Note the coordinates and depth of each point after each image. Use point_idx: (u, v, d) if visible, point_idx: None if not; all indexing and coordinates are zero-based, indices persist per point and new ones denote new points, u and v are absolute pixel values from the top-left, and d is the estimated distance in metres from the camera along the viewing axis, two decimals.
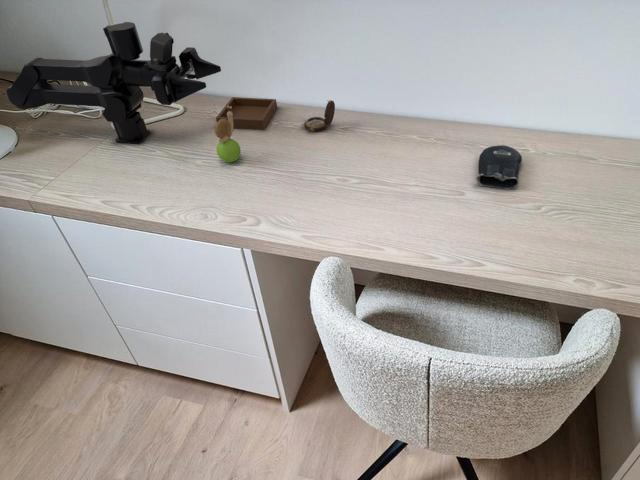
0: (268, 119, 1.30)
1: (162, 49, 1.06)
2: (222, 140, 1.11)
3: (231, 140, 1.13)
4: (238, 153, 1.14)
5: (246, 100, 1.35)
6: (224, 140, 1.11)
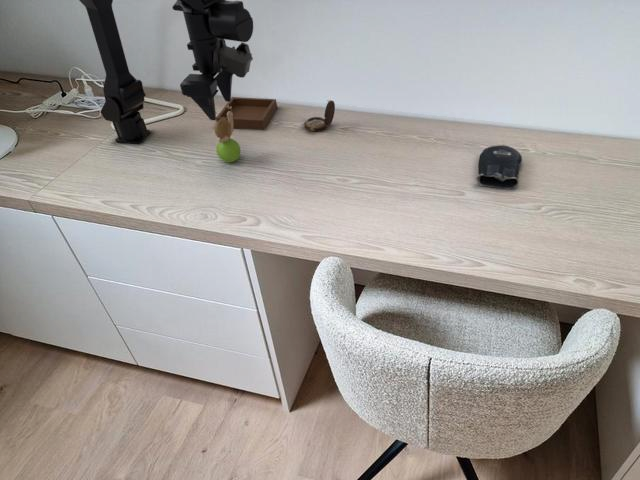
0: (268, 119, 1.30)
1: (237, 74, 1.00)
2: (222, 140, 1.11)
3: (231, 140, 1.13)
4: (238, 153, 1.14)
5: (246, 100, 1.35)
6: (224, 140, 1.11)
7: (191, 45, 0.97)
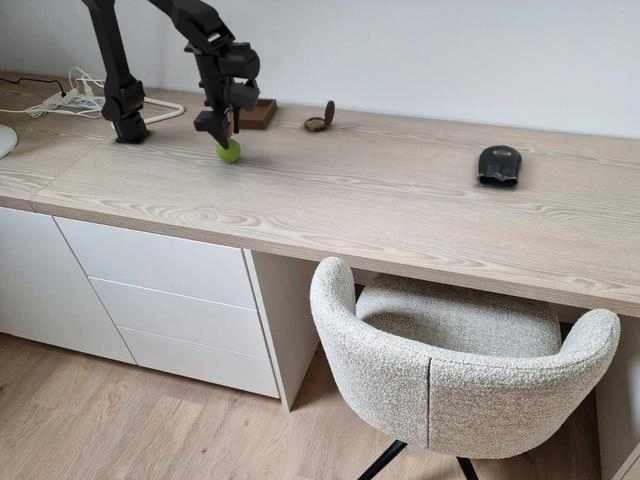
0: (268, 119, 1.30)
1: (246, 109, 1.05)
2: None
3: (231, 140, 1.13)
4: (238, 153, 1.14)
5: None
6: None
7: (202, 84, 1.02)
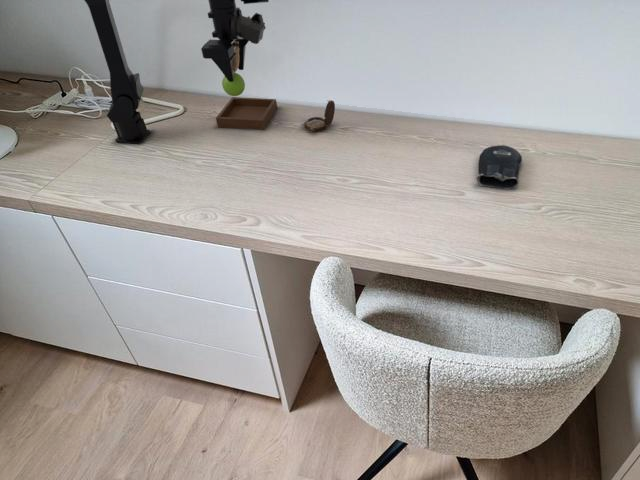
0: (268, 119, 1.30)
1: (252, 41, 1.12)
2: None
3: (236, 74, 1.19)
4: (242, 88, 1.20)
5: (246, 100, 1.35)
6: None
7: (211, 14, 1.09)
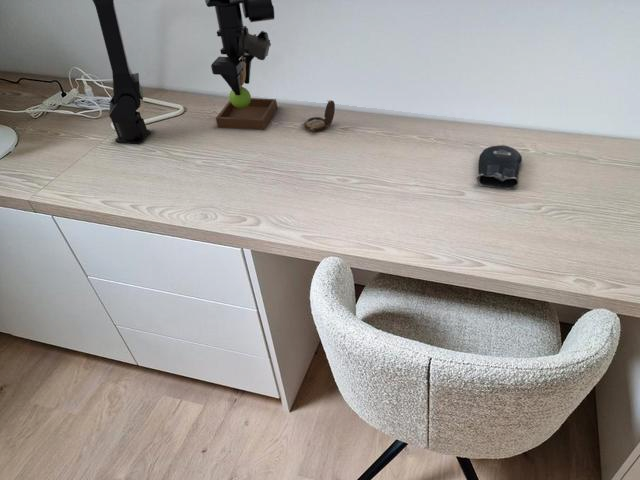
0: (268, 119, 1.30)
1: (258, 57, 1.18)
2: None
3: (243, 88, 1.26)
4: (249, 101, 1.27)
5: None
6: None
7: (220, 32, 1.16)
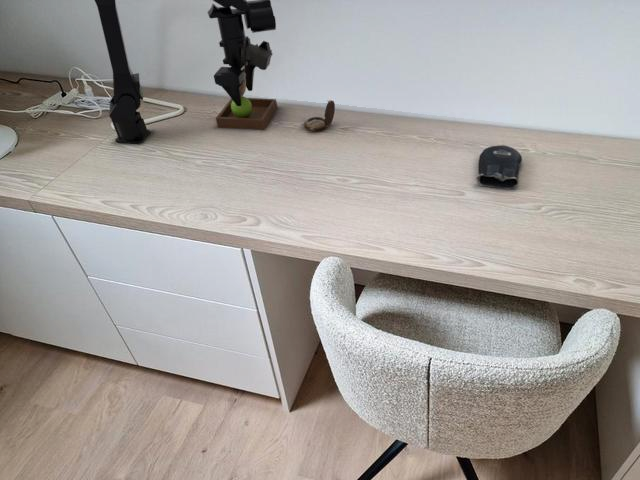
0: (268, 119, 1.30)
1: (260, 67, 1.20)
2: None
3: (244, 97, 1.28)
4: (250, 109, 1.29)
5: None
6: None
7: (222, 43, 1.17)
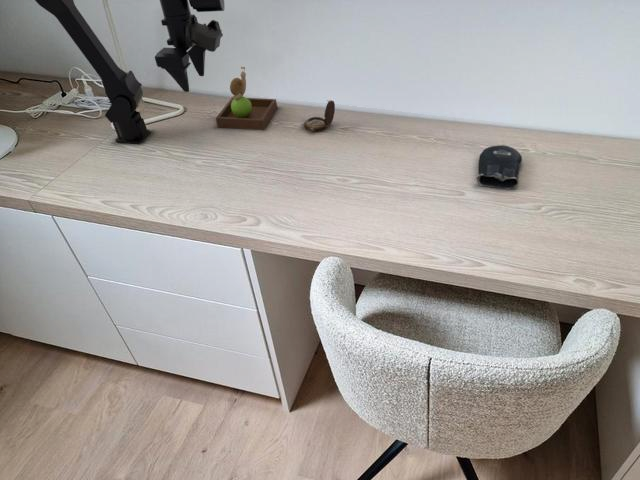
0: (268, 119, 1.30)
1: (208, 48, 1.09)
2: (236, 97, 1.26)
3: (244, 97, 1.28)
4: (250, 109, 1.29)
5: None
6: (238, 97, 1.26)
7: (165, 21, 1.06)
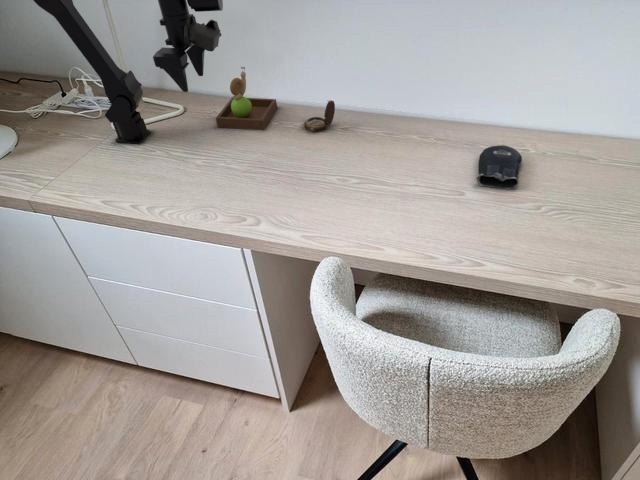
0: (268, 119, 1.30)
1: (206, 48, 1.08)
2: (236, 97, 1.26)
3: (244, 97, 1.28)
4: (250, 109, 1.29)
5: None
6: (238, 97, 1.26)
7: (163, 21, 1.06)
